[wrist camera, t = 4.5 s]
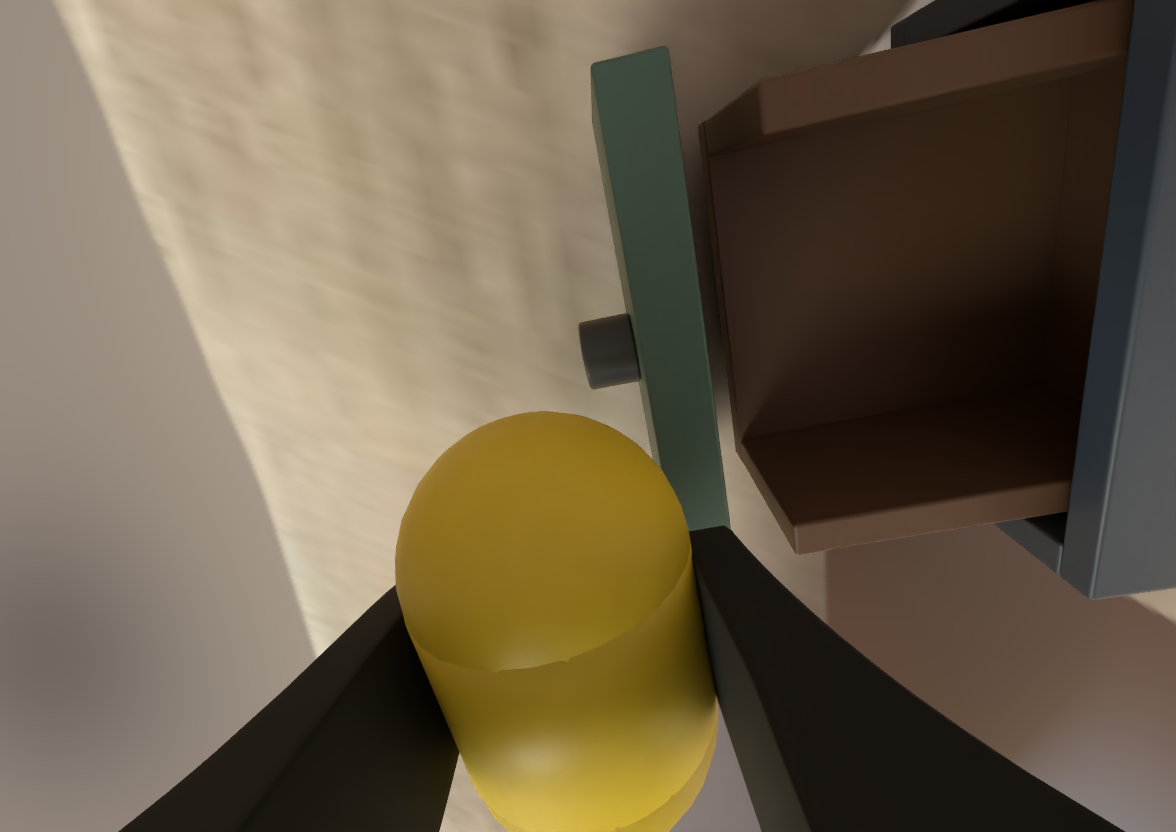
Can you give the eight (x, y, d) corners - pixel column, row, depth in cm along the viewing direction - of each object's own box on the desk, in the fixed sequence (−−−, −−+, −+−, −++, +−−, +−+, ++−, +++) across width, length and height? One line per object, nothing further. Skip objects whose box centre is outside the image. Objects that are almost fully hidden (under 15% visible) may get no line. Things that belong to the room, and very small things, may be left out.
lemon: (706, 673, 11) (764, 913, 7) (516, 702, 11) (478, 945, 8) (649, 352, 9) (692, 466, 5) (408, 401, 9) (276, 543, 5)
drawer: (619, 487, 17) (631, 615, 12) (545, 129, 14) (512, 81, 8) (1036, 414, 16) (1255, 519, 11) (1077, 4, 13) (1438, -143, 7)
